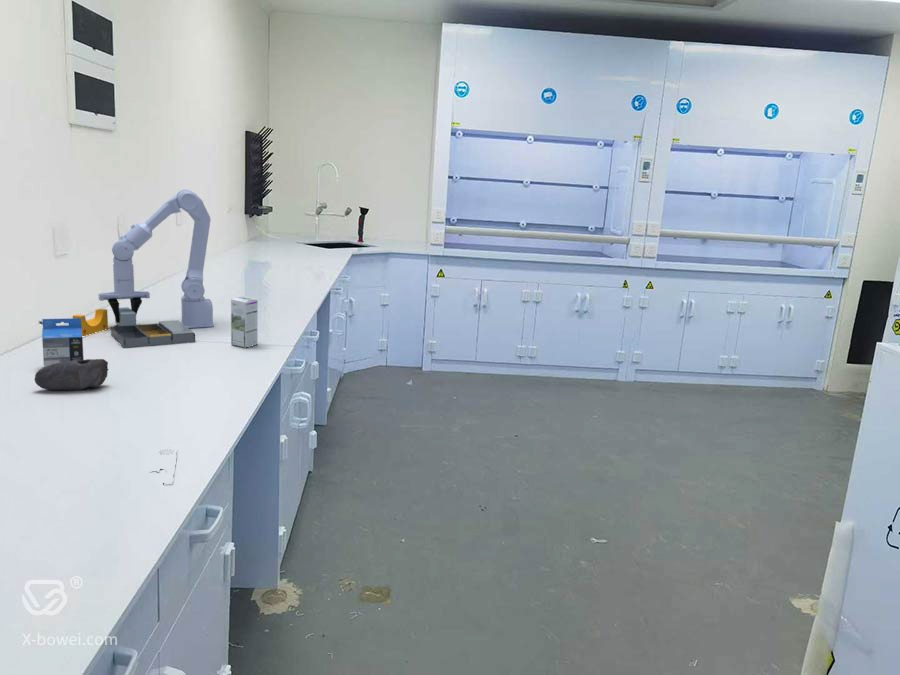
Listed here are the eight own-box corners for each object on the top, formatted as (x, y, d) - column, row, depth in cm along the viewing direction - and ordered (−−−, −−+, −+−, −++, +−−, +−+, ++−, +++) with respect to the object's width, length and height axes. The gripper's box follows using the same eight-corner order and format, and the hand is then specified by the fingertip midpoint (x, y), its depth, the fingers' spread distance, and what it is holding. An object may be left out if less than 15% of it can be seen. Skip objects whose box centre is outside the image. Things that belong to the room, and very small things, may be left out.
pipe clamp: (95, 328, 213) (94, 308, 211) (108, 329, 212) (107, 309, 210) (68, 336, 201) (67, 315, 200) (81, 337, 200) (80, 316, 199)
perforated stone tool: (33, 394, 152) (31, 365, 150) (37, 387, 156) (35, 358, 155) (108, 390, 158) (107, 362, 156) (109, 384, 162) (108, 356, 161)
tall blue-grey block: (128, 322, 221) (128, 307, 219) (136, 328, 213) (135, 313, 212) (115, 322, 218) (114, 307, 217) (122, 329, 211) (122, 314, 209)
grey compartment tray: (179, 330, 217) (178, 319, 217) (195, 342, 205) (195, 331, 204) (111, 334, 205) (110, 324, 205) (123, 348, 193) (123, 336, 192)
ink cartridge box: (43, 370, 168) (40, 322, 165) (44, 366, 172) (41, 318, 169) (84, 368, 172) (81, 321, 170) (84, 364, 176) (81, 317, 173)
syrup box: (258, 345, 207) (258, 298, 204) (245, 348, 202) (245, 301, 198) (243, 342, 209) (244, 296, 206) (230, 345, 204) (230, 298, 201)
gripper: (145, 276, 219) (146, 317, 223) (95, 277, 211) (97, 320, 214) (150, 279, 214) (152, 321, 217) (100, 281, 205) (102, 325, 209)
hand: (125, 321), depth 215 cm, fingers closed on tall blue-grey block, 4 cm apart
